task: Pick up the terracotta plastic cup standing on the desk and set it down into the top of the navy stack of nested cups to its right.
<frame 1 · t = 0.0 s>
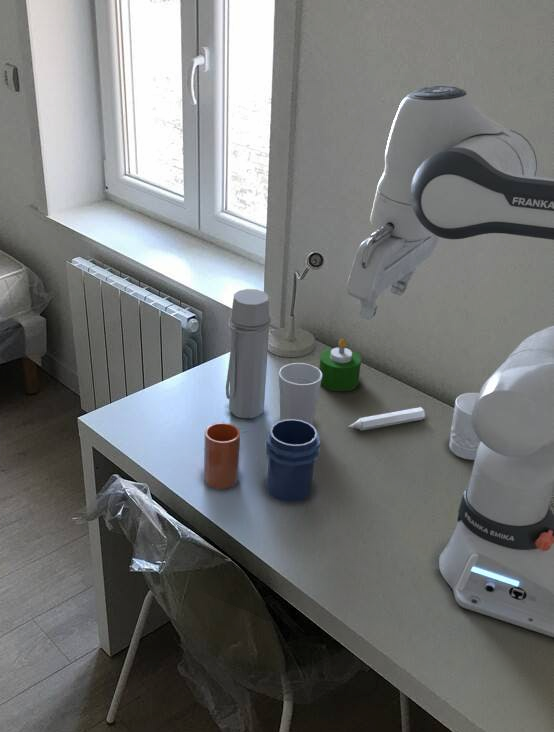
hand: (382, 304, 121), 39 cm above the table, tool pointing down, fingers open, 8 cm apart
cup stack: (288, 488, 149), on the table
cup: (295, 427, 165), on the table
white cup: (467, 450, 157), on the table
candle: (337, 381, 178), on the table
stack rims: (292, 444, 144), point 10 cm above the table
marker: (383, 425, 165), on the table
water bottle: (242, 413, 169), on the table
terracotta cup: (221, 478, 152), on the table
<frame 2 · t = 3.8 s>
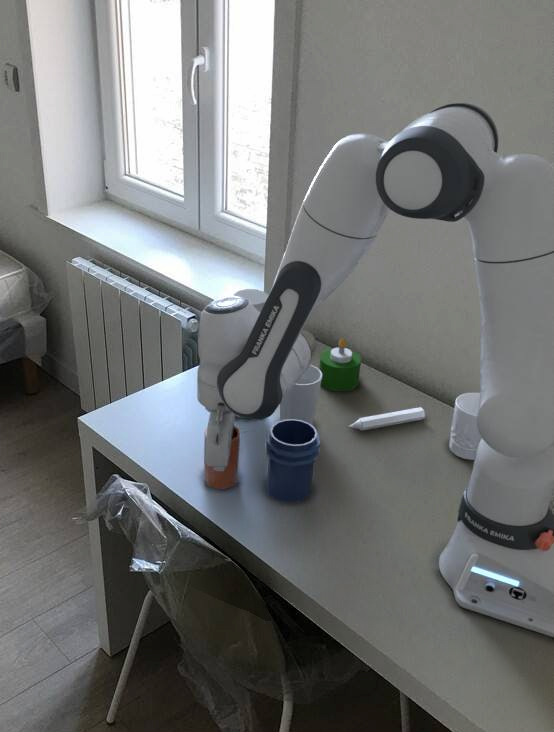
hand: (221, 455, 149), 5 cm above the table, tool pointing down, fingers closed on terracotta cup, 6 cm apart
terracotta cup: (220, 478, 152), on the table, touching gripper
everything else where it was.
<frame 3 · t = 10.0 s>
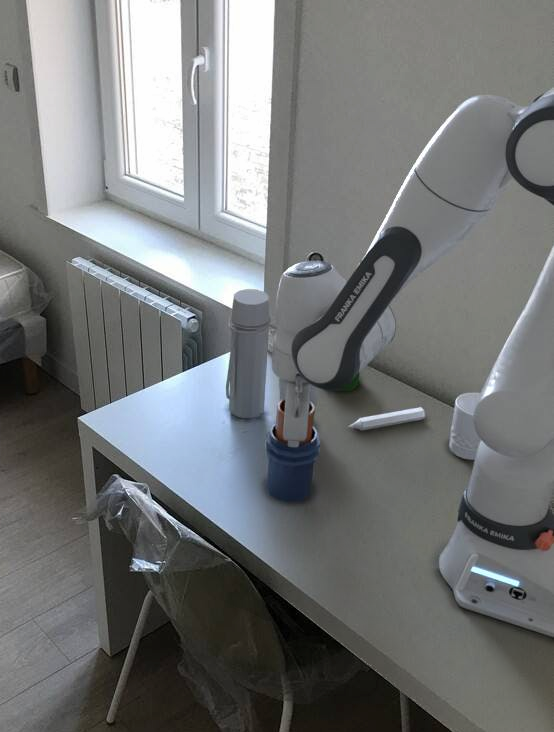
hand: (293, 431, 142), 12 cm above the table, tool pointing down, fingers closed on terracotta cup, 6 cm apart
terracotta cup: (291, 455, 145), point 7 cm above the table, touching gripper
everything else where it was.
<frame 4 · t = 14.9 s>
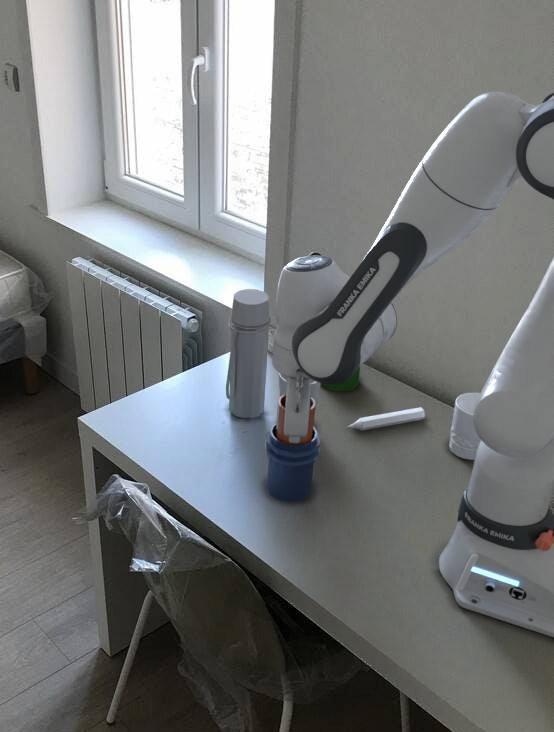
hand: (294, 427, 142), 13 cm above the table, tool pointing down, fingers closed on terracotta cup, 6 cm apart
terracotta cup: (292, 451, 145), point 8 cm above the table, touching gripper
everything else where it was.
when the fingers open (13 cm above the table, at t = 19.4 s): terracotta cup drops 2 cm, resting on cup stack.
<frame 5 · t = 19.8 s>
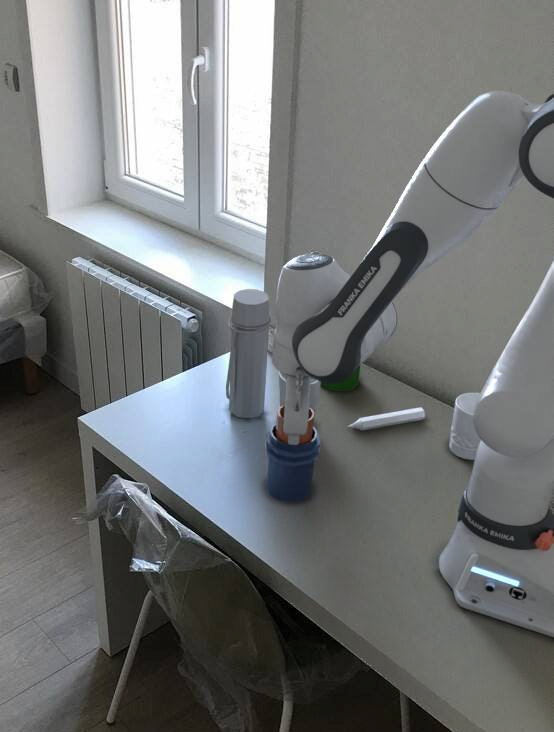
hand: (294, 425, 142), 13 cm above the table, tool pointing down, fingers open, 8 cm apart
terracotta cup: (291, 461, 146), point 6 cm above the table, touching cup stack
everything else where it was.
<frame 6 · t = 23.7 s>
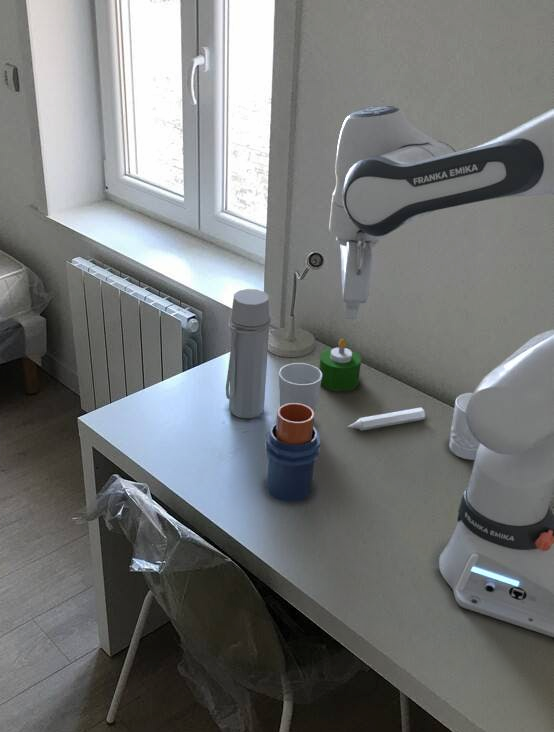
hand: (349, 303, 134), 33 cm above the table, tool pointing down, fingers open, 8 cm apart
nothing on the table moved.
at the end: terracotta cup 0.1 cm off-centre in the cup stack, point 6.0 cm above the cup stack's base; terracotta cup tilted 0° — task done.
